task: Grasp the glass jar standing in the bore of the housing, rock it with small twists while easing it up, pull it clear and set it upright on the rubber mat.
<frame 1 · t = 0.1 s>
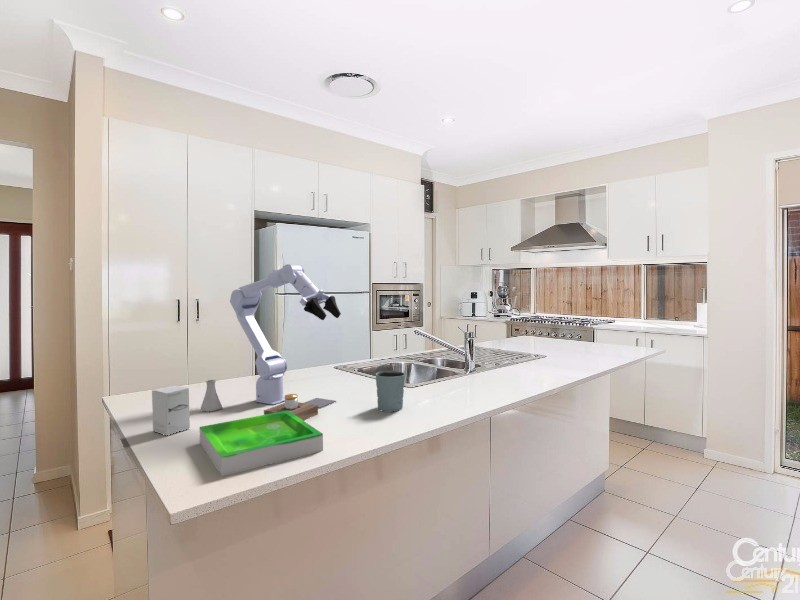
hand: (331, 317, 144), 32 cm above the countertop, tool tilted 50°, fingers open, 7 cm apart
supplement box: (171, 431, 129), on the countertop
mat: (318, 403, 156), on the countertop
housing: (291, 416, 141), on the countertop
grey cup: (390, 408, 149), on the countertop
tray: (260, 449, 116), on the countertop
glass jar: (291, 406, 140), in the housing
flask: (211, 409, 150), on the countertop
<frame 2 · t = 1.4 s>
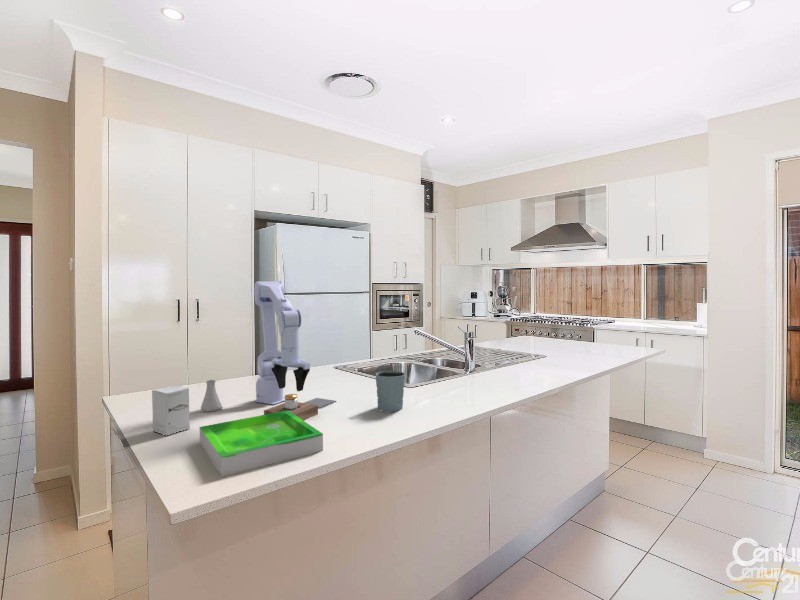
hand: (290, 389, 140), 9 cm above the countertop, tool pointing down, fingers open, 7 cm apart
nothing on the countertop moved.
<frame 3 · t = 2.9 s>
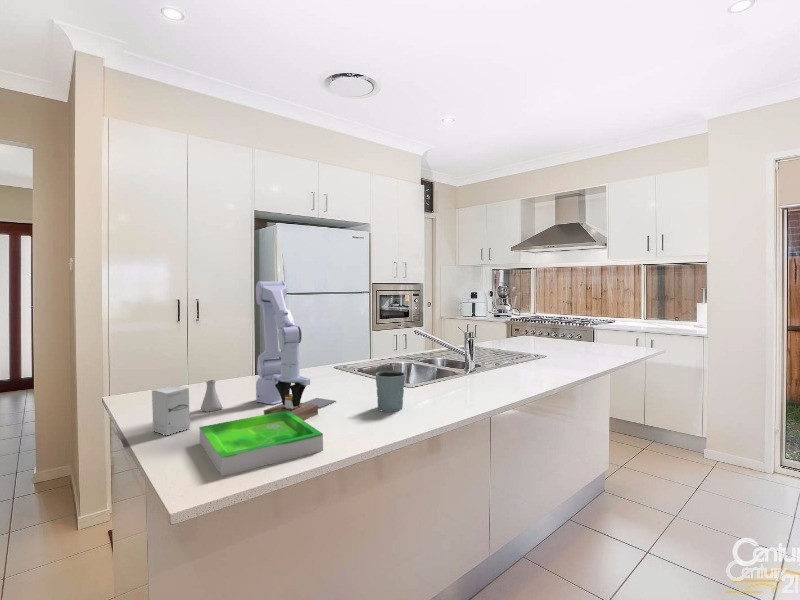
hand: (291, 405, 140), 4 cm above the countertop, tool pointing down, fingers closed on glass jar, 4 cm apart
glass jar: (291, 406, 140), in the housing, touching gripper
everything else where it was.
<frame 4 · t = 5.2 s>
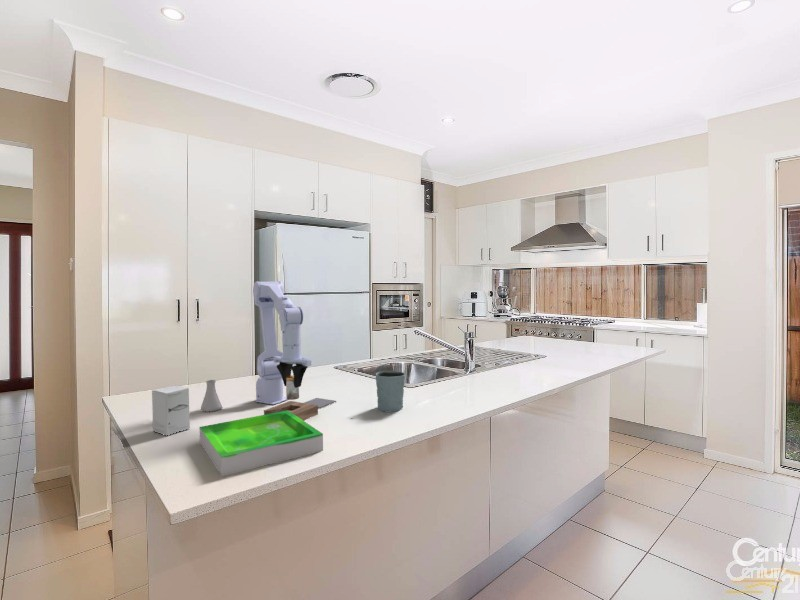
hand: (292, 386, 141), 10 cm above the countertop, tool pointing down, fingers closed on glass jar, 4 cm apart
glass jar: (292, 387, 141), point 9 cm above the countertop, touching gripper
everything else where it was.
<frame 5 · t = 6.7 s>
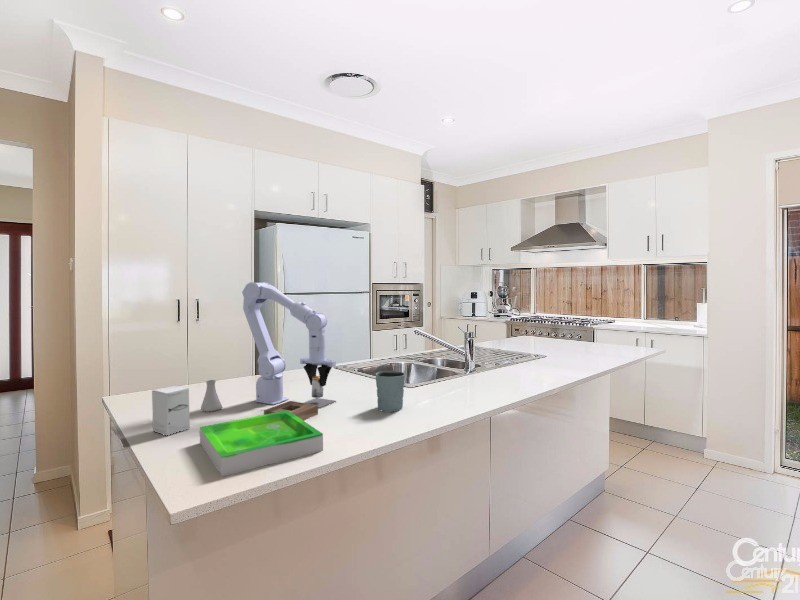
hand: (318, 385, 155), 7 cm above the countertop, tool pointing down, fingers closed on glass jar, 4 cm apart
glass jar: (317, 386, 155), point 6 cm above the countertop, touching gripper
everything else where it was.
when the fingers open (5 cm above the countertop, at t = 7.7 s): glass jar stays where it is, resting on mat.
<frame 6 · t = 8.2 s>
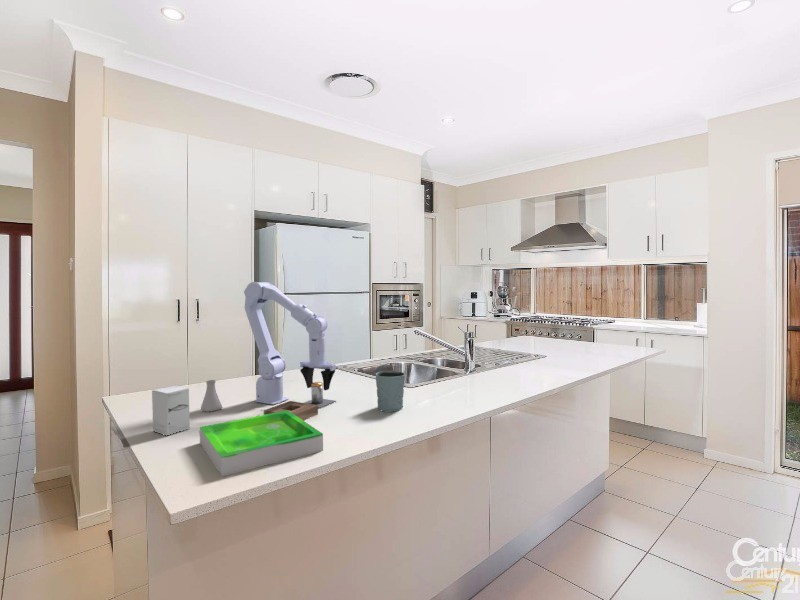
hand: (318, 388, 155), 5 cm above the countertop, tool pointing down, fingers open, 7 cm apart
glass jar: (317, 393, 155), on the mat
everything else where it was.
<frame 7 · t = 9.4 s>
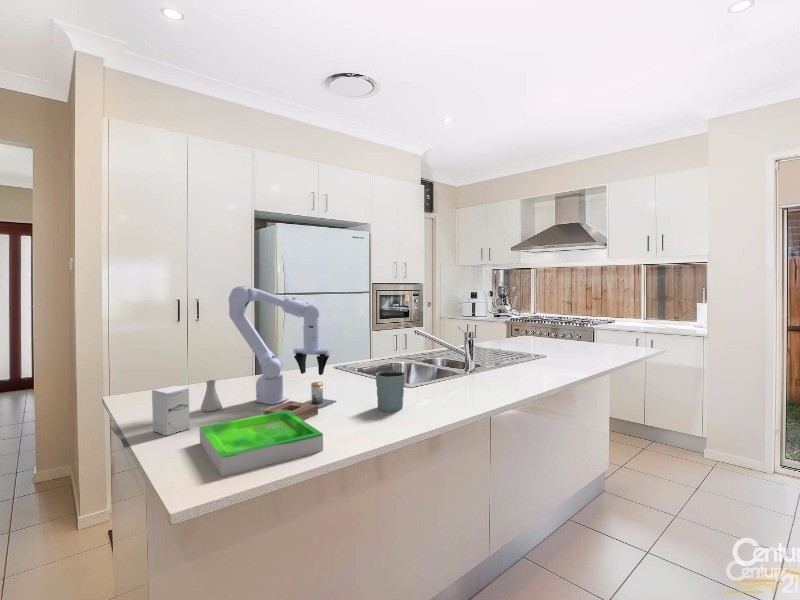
hand: (312, 373, 162), 9 cm above the countertop, tool pointing down, fingers open, 7 cm apart
nothing on the countertop moved.
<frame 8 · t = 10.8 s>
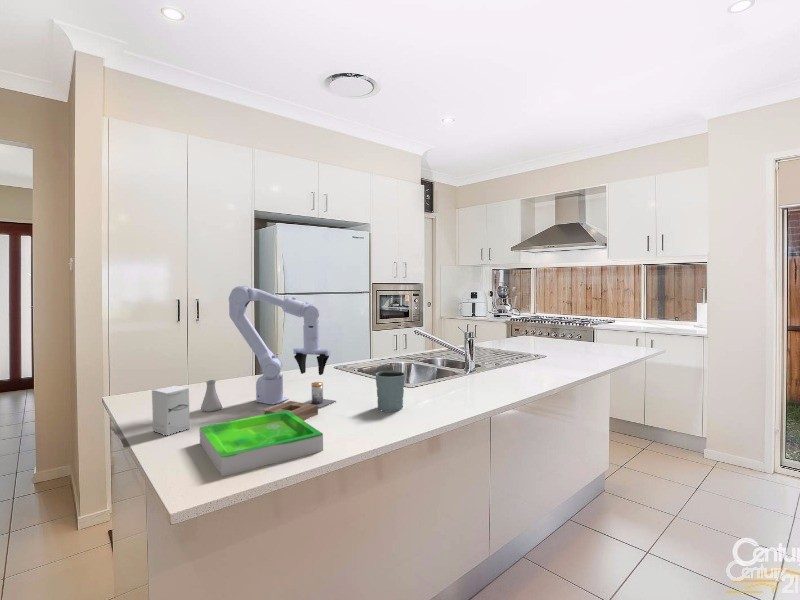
hand: (312, 373, 162), 9 cm above the countertop, tool pointing down, fingers open, 7 cm apart
nothing on the countertop moved.
at the end: glass jar 0.5 cm off-centre on the mat, point 3.9 cm above the mat's base; glass jar tilted 1°; the gripper is holding nothing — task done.
